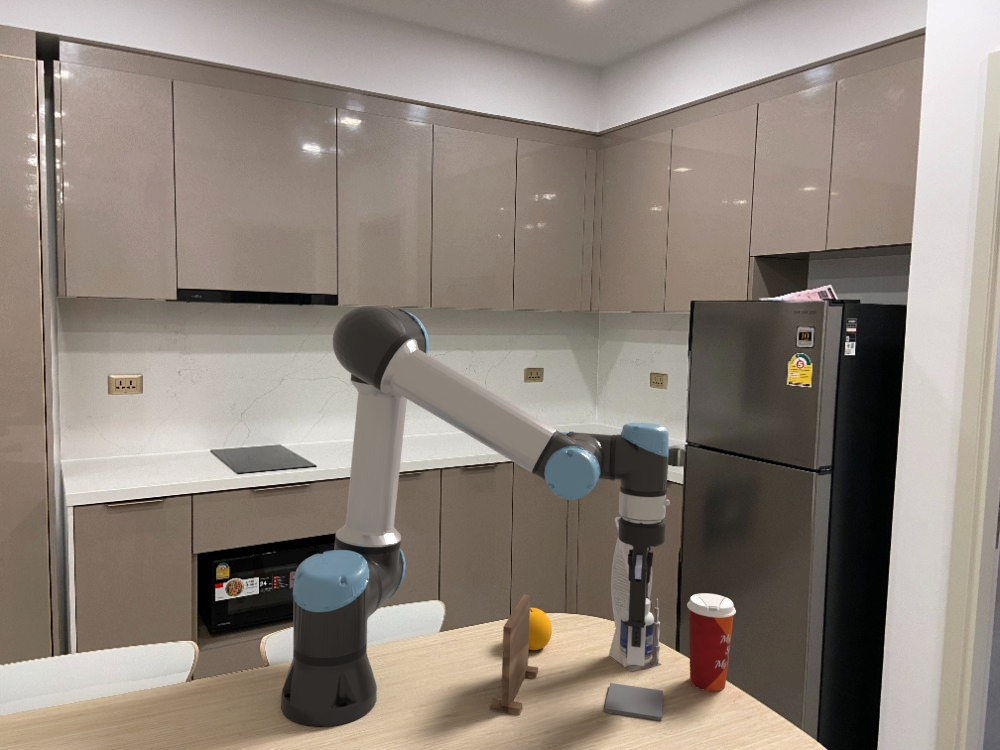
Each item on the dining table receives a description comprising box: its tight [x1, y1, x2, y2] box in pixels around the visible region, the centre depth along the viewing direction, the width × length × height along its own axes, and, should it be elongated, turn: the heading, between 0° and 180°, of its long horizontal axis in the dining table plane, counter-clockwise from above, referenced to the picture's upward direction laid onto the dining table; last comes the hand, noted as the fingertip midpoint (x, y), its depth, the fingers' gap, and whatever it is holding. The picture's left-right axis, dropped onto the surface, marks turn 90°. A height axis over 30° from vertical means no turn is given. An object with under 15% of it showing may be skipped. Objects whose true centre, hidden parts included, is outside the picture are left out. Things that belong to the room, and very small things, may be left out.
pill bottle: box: [620, 596, 655, 663], centre depth 121 cm, size 5×5×10 cm
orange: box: [528, 607, 553, 651], centre depth 142 cm, size 8×8×8 cm
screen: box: [488, 594, 539, 716], centre depth 124 cm, size 5×15×14 cm, turn 166°
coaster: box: [604, 682, 664, 722], centre depth 122 cm, size 9×9×1 cm
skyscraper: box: [608, 516, 662, 673], centre depth 137 cm, size 8×8×28 cm
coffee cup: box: [686, 592, 736, 692], centre depth 129 cm, size 8×8×15 cm
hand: (636, 655), depth 121 cm, fingers closed on pill bottle, 5 cm apart
